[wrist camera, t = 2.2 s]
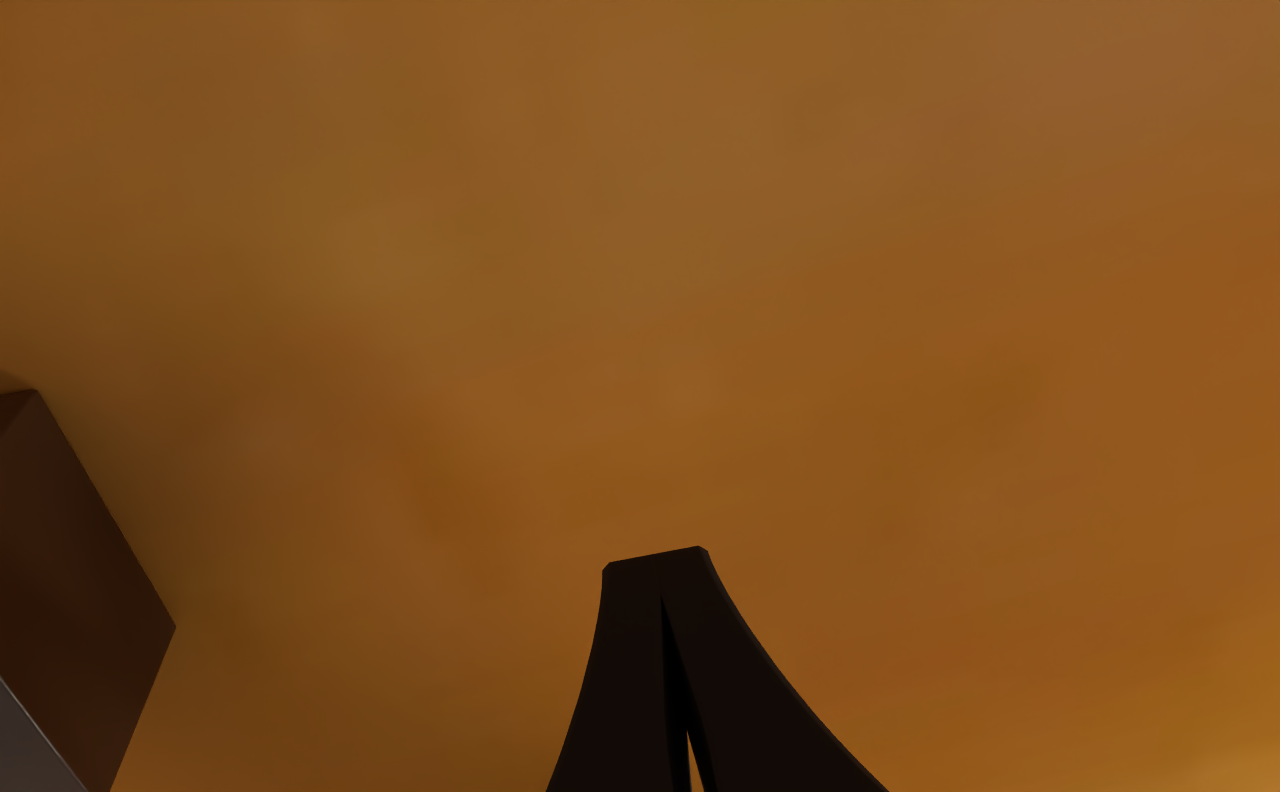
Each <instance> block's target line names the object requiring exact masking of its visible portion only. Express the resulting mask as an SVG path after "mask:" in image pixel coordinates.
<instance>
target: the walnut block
mask: <svg viewBox="0 0 1280 792" xmlns="http://www.w3.org/2000/svg"><path fill="white" fill-rule="evenodd" d="M175 629H176V625H175V624H174V622H173V620H172V618H171V617H170V615H169V613H168V612H167V610H166V608H165V606H164V605H163V603H162V601H161V600H160V598H159V596H158V595H157V593H156V591H155V589H154V588H153V586H152V584H151V583H150V581H149V579H148V578H147V576H146V574H145V572H144V571H143V569H142V567H141V566H140V564H139V562H138V560H137V559H136V557H135V555H134V554H133V552H132V550H131V549H130V547H129V545H128V543H127V542H126V540H125V538H124V537H123V535H122V533H121V532H120V530H119V528H118V526H117V525H116V523H115V521H114V520H113V518H112V516H111V514H110V513H109V511H108V509H107V508H106V506H105V504H104V503H103V501H102V499H101V497H100V496H99V494H98V492H97V491H96V489H95V487H94V486H93V484H92V482H91V480H90V479H89V477H88V475H87V474H86V472H85V470H84V468H83V467H82V465H81V463H80V462H79V460H78V458H77V457H76V455H75V453H74V451H73V450H72V448H71V446H70V445H69V443H68V441H67V440H66V438H65V436H64V434H63V433H62V431H61V429H60V428H59V426H58V424H57V422H56V421H55V419H54V417H53V416H52V414H51V412H50V411H49V409H48V407H47V405H46V404H45V402H44V400H43V399H42V397H41V395H40V394H39V392H38V391H37V390H30V391H24V392H19V393H13V394H8V395H3V396H0V792H110V790H111V787H112V785H113V782H114V780H115V777H116V775H117V772H118V770H119V767H120V765H121V762H122V760H123V757H124V755H125V753H126V750H127V748H128V745H129V743H130V740H131V738H132V735H133V733H134V730H135V728H136V725H137V723H138V720H139V718H140V715H141V713H142V710H143V708H144V705H145V703H146V700H147V698H148V696H149V693H150V691H151V688H152V686H153V683H154V681H155V678H156V676H157V673H158V671H159V668H160V666H161V663H162V661H163V658H164V656H165V653H166V651H167V648H168V646H169V643H170V641H171V639H172V636H173V634H174V631H175Z"/></svg>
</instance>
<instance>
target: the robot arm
mask: <svg viewBox="0 0 1280 792" xmlns="http://www.w3.org/2000/svg"><path fill="white" fill-rule="evenodd" d="M687 732H688V735H689V739H690V743H691V746H692V750H693V753H694V757H695V760H696V764H697V768H698V771H699V775H700V778H701V782H702V785H703V789H704V792H889V791H888V790H887V789H886V788H885V787H884V786H883V785H882V784H881V783H880V782H879V781H878V780H877V779H876V778H875V777H874V776H873V775H872V774H871V773H870V772H869V771H868V770H867V769H866V768H865V767H864V766H863V765H862V764H861V763H860V762H859V761H858V760H857V759H856V758H855V757H854V756H853V755H852V754H851V753H850V752H849V751H848V750H847V749H846V748H845V747H844V745H843V744H842V743H841V742H840V741H839V740H838V739H837V738H836V737H835V736H834V735H833V734H832V733H831V731H830V730H829V729H828V728H827V727H826V726H825V725H824V724H823V722H822V721H821V720H820V719H819V718H818V717H817V716H816V714H815V713H814V712H813V711H812V710H811V709H810V707H809V706H808V705H807V704H806V702H805V701H804V700H803V699H802V698H801V696H800V695H799V694H798V693H797V692H796V690H795V689H794V688H793V687H792V685H791V684H790V683H789V682H788V680H787V679H786V678H785V676H784V675H783V674H782V673H781V671H780V670H779V669H778V667H777V666H776V665H775V663H774V662H773V661H772V659H771V658H770V656H769V655H768V654H767V652H766V651H765V649H764V648H763V647H762V645H761V644H760V642H759V641H758V640H757V638H756V637H755V635H754V634H753V633H752V631H751V630H750V628H749V627H748V625H747V624H746V622H745V621H744V619H743V618H742V616H741V614H740V613H739V611H738V609H737V608H736V606H735V605H734V603H733V601H732V600H731V598H730V596H729V595H728V593H727V591H726V589H725V588H724V586H723V584H722V582H721V580H720V578H719V576H718V574H717V572H716V570H715V568H714V566H713V564H712V561H711V559H710V556H709V554H708V551H707V550H705V549H703V548H702V547H700V546H694V547H689V548H683V549H678V550H673V551H667V552H662V553H657V554H652V555H646V556H641V557H636V558H630V559H625V560H620V561H614V562H609V563H608V565H607V566H606V567H605V568H604V569H603V570H602V590H601V600H600V607H599V613H598V619H597V624H596V629H595V634H594V639H593V644H592V648H591V652H590V656H589V660H588V664H587V668H586V672H585V676H584V680H583V684H582V688H581V691H580V695H579V698H578V701H577V705H576V708H575V711H574V714H573V717H572V720H571V723H570V726H569V729H568V732H567V735H566V738H565V741H564V744H563V747H562V750H561V753H560V756H559V758H558V761H557V764H556V766H555V769H554V772H553V774H552V777H551V780H550V782H549V785H548V787H547V790H546V792H692V786H691V774H690V763H689V751H688V739H687Z"/></svg>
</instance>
